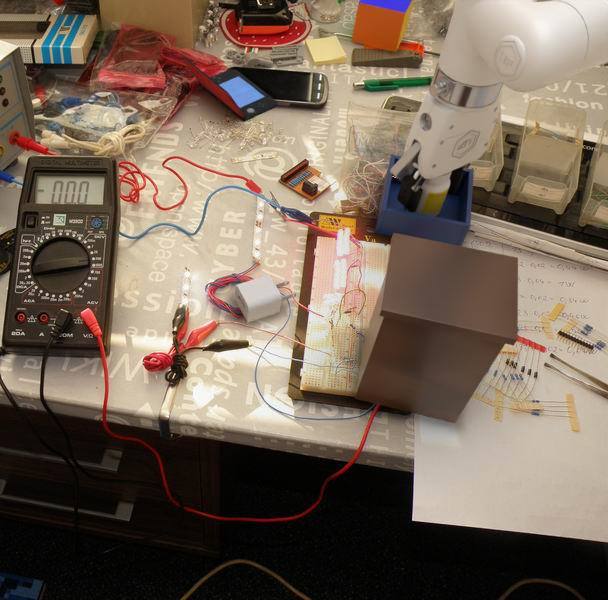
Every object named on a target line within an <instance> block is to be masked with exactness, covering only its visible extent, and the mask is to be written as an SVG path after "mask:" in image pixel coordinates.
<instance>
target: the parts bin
mask: <svg viewBox="0 0 608 600" xmlns="http://www.w3.org/2000/svg"><path fill="white" fill-rule="evenodd" d="M401 157H402V155H401V156H400V155H395V154H391V155H390V158H389V162H388V165H387V168H386V172H387V173H385V176H384V179H383V184H382V191H381V196H380V202H379V207H378V213H377V218H376V224H375V229H374V234H377V235H381V236H386V237H391V238H392V236H393V233H397V234H402V235H407V236H412V237H417V238H422V239H427V240H432V241H437V242H442V243H447V244H452V245H457V246H462V247H463V243H464V241H465V239H466V237H467V235H468V233H469V230H470V228H471V221H472V204H473V190H474V188H473V187H474V186H473V185H474V172H475V169H472V168H468V169H467V170H465V171H463V172H464V174H463V177H462V179H461V182H460V184H459V187H458V189H457V192H456V194H453V195H450V194H449V193H448V192H447V195H446V197H445V200H444V203H443V205H442V208H441V211H440V213H439V216H438V217H433V216H428V215H423V214H418V213H413V212H408V211H404V206H403V205H402V204H401V203H400V202H399V201H398V199H397V197H398V194H399V190H400V187H401V184H402V182H401V181H400V180H398V179H397V178H394V177H395V176H394V175H393V174H392V173H391V172H390V169H391V168H392V167H393V166H394V165H395V164H396V163H397V161H398V160H399V159H400V158H401ZM417 171H418V170H417V169H416V168H415V169H414V171H413V172H412V174H411V176H412V177H414V174H415V173H416V172H417ZM392 176H394V177H392Z"/></svg>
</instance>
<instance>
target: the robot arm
mask: <svg viewBox="0 0 608 600" xmlns="http://www.w3.org/2000/svg"><path fill="white" fill-rule="evenodd" d="M606 63H608V0H546V1H538V0H456V2H455V5H454V8H453V12H452V15H451V18H450V22H449V24H448V28H447V31H446V34H445V38H444V41H443V44H442V47H441V51H440V54H439V58H438V60H437V63H436V66H435V69H434V73H433V77H432V80H431V83H430V85H429V87H428V91H427V92H426V94H425V96H424V98H423V100H422V102H421V104H420V106H419V108H418V109H417V113H416V115H415V117H414V119H413V122H412V125H411V128H410V130H409V132H408V136H407V139H406V142H405V145H404V150H403V155H401V158H400V159H399V160H398V161H397V163H396V164H395V165H394V166H393V167H392V168H391V169H390V172H391V173H392V174H393V175H394V176H395V177H396V178H397V179H398V180H400V181H401V182H402V184H401V187H400V190H399V194H398V197H397V199H398V201H399V202H400V203H401V204H402V205H403V206H404V207H405V208H406V209H407V210H409V211H410V212H415V211H416V209H417V207H418V204H419V201H420V198H421V195H422V192H423V190H422V188H421V186H422V185H423V183H424V182H425V180H426V179H431V178H435V177H438V176H441V175H443V174H445V173H448V172H450V171H452V172H451V175H450V187H449V189H448V193H449V194H450V195H453V194H456V192H457V189H458V187H459V184H460V182H461V179H462V177H463V174H464V172H463V171H465V170H467V169H470V166H471V163H473V162H475V161H477V160H479V159H480V158H481V157H482V156H483V155H484V154H485V152H486V150H487V148H488V146H489V142H490V140H491V137H492V135H493V132H494V129H495V125H496V124H497V120H498V116H499V112H500V109H501V103H502V96H503V89H502V88H503V87H504V86H505V87H507V88H508V89H510V90H512V91H514V92H518V93H531V92H535V91H539V90H542V89H545V88H546V87H549V86H552V85H554V84H557V83H559V82H561V81H564V80H567V79H568V78H571V77H573V76H575V75H578V74H581V73H582V72H585V71H588V70H590V69H593V68H596V67H599V66H602V65H604V64H606ZM415 168H416V169H417V170H418V171H419V175H418V177H417V178H416V179H415V178H413V177H412V176H411V174H412V172H413V171H414V169H415Z"/></svg>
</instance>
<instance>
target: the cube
mask: <svg viewBox="0 0 608 600" xmlns="http://www.w3.org/2000/svg"><path fill="white" fill-rule="evenodd" d="M414 5H415V0H359V1H358V4H357V10H356V15H355V19H354V26H353V30H352V35H351V43H355V44H358V45H359V44H360V45H364V46H367V47H373V48H376V49H380V50H385V51H389V52H393V53H397V50H398V49H399V46H400V45H401V43H402V41H403V39H404V36H405V34H406V32H407V30H408V27H409V22H410V19H411V16H412V11H413V7H414Z"/></svg>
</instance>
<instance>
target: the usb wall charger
mask: <svg viewBox="0 0 608 600" xmlns="http://www.w3.org/2000/svg"><path fill="white" fill-rule="evenodd" d="M289 284H290V280H284V281H281V282H278V283H275V281H274V280H273V278H272V276H271V275H270V274H266V275H263V276H260V277H256V278H253V279H250V280H247V281H243V282H240V283H237V284H235V286H234V300H235V302H236V305H237V306H238V308H239V310H240V312H241V314H242V315H243V317H244V319H245V321H246V323H247V324H249V323H252V322H255V321H257V320H261V319H264V318H267V317H270V316H273V315H276V314H279V313H281V307H282V302H283V301H287V300H290V299H293V298H294V297H297V292H292V293H288V294H285V295H282V294H281V291H280V290H279V289H280V288H283V287H285V286H287V285H288V286H289Z"/></svg>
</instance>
